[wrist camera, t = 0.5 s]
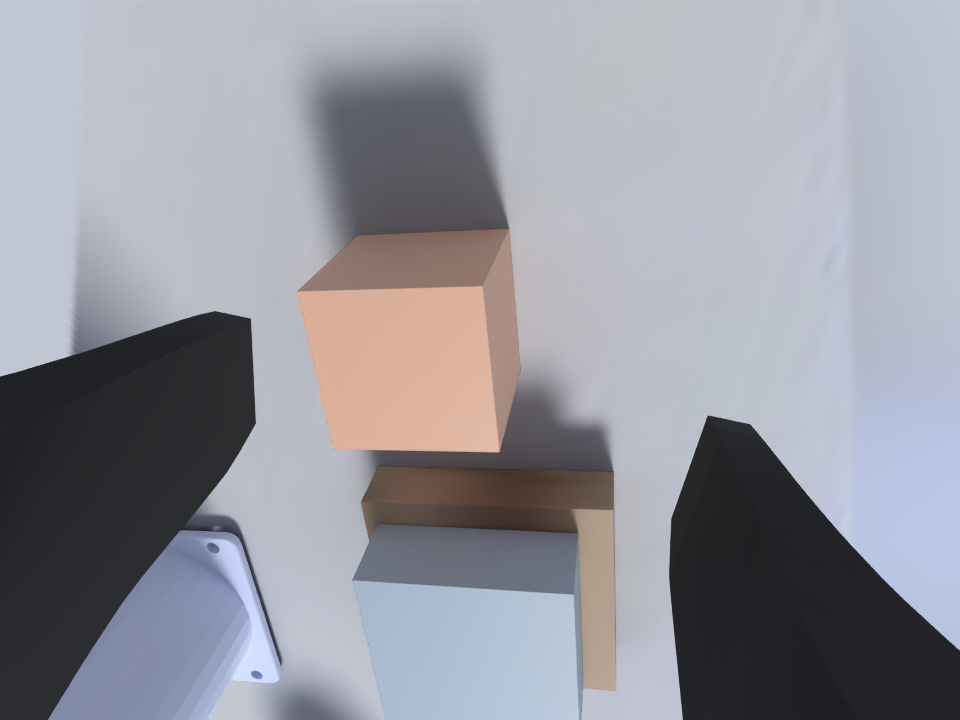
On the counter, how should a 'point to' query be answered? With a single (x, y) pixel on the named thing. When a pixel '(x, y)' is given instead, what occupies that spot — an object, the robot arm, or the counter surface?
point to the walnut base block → (519, 528)
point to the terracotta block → (416, 341)
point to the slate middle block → (473, 623)
